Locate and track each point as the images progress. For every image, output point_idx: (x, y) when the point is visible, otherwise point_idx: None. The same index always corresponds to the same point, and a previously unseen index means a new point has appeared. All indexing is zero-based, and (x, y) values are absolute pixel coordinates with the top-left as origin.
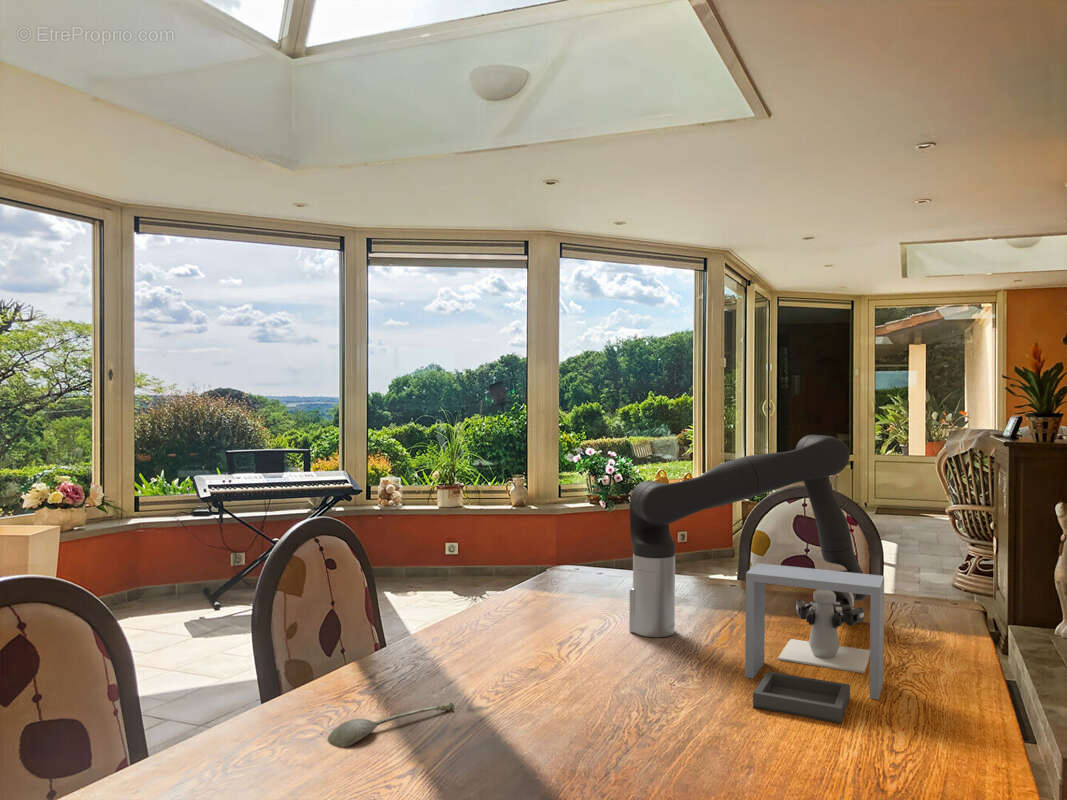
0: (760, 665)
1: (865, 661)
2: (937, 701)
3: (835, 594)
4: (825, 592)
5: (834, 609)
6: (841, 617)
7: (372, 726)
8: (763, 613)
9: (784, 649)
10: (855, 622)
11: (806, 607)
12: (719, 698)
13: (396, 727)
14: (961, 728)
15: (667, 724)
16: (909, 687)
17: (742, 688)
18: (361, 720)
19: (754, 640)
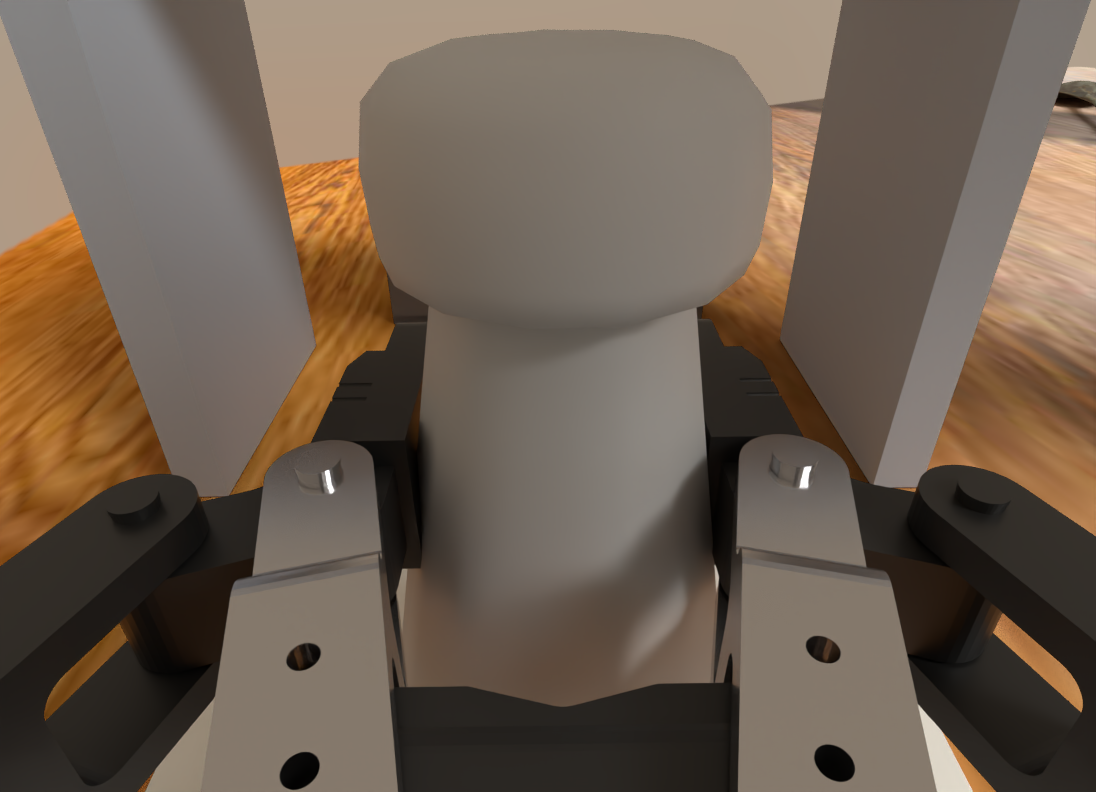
0: (834, 408)
1: (170, 777)
2: (11, 400)
3: (360, 104)
4: (531, 31)
5: (408, 689)
6: (330, 406)
7: (1067, 89)
8: (945, 143)
9: (948, 762)
10: (71, 707)
11: (923, 511)
12: (769, 240)
13: (1079, 113)
14: (75, 289)
15: (774, 173)
16: (55, 481)
17: (758, 286)
18: (1087, 83)
19: (816, 182)
